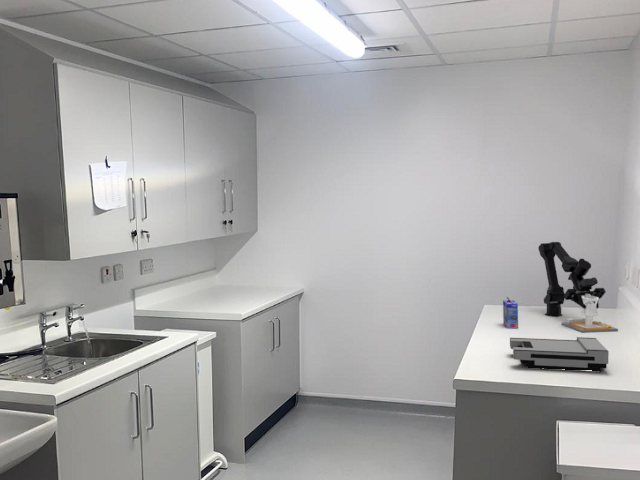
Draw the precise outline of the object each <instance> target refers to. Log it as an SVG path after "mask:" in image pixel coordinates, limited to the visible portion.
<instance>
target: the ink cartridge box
mask: <svg viewBox="0 0 640 480" xmlns="http://www.w3.org/2000/svg"><path fill="white" fill-rule="evenodd" d="M502 311H503V313H502V317H503V321H502V322H503V325H504V326H505V328H507V329H519V304H518V302H516V301H515V300H513V299H510V298H509V297H507V296H506V299H504V300H502Z"/></svg>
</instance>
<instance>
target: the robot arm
mask: <svg viewBox="0 0 640 480" xmlns="http://www.w3.org/2000/svg"><path fill="white" fill-rule="evenodd" d="M539 244H540V245H538V252H539V255H540V257H541V258H542V260H544V266H545V270H546V276H547V282H548V288H547V290H546V295H545V296H544V298H543V303H544V304H546V313H545V314H544V315H545V316H550V317H551V316H552V317H560V316H563V314H562V306H561V305H564V303H565V300H566V301H571V302H574V303H575V304H577V305H578V306H579V307H581V309H582V308H584V309H585V308H586V306H585V304H584V303H583V299H582V296H585V294H590V295H591V296H595V297H598V298H599V299H598V300H600V299H602V298H603V296H604V295H605V293H607V291H606V289H605V288H604V287H594V286H596V285H597V284H598V279H597V277H590V278H584V277H585V276H586V275H588V272H589V271H590V270H591V268H592V265H591V263H590V262H589V261H587V260H585V258H579V260H577V259H576V258H574V257H572V256H570V254H569V253H568V252H567V251H566V249H565V248H564V247H563V246H562V244H561V242H560V241H551V242H545V243H542V242H541V243H539ZM556 256H557V258H558V259H559V261H560V262H561V268H562V270H563V271H564V272H565V273H569V276H568V279H567V281H571V282H572V285H573V286H572V288H567V290H566V291H565V290H564V287H563V286H560V284H559V279H558V273H557V269H556V263H555V257H556ZM593 287H594V289H593V290H592V288H593ZM590 299H592V298H590ZM592 302H594V303H595V301H591V303H592ZM596 308H597V309H599V308H600V307H599V301H598V302H597V305H596Z"/></svg>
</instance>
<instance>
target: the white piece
mask: <svg viewBox="0 0 640 480" xmlns="http://www.w3.org/2000/svg"><path fill="white" fill-rule="evenodd" d="M581 297H582V300H583V303H584V304H585V306H586V308H585V309H584V308H582V307H581V313H580V314H581V315H582V316H585V318H586V320H585V326H592V321H593V318H594V317H597V316H598V315H599V314H598V308H596V305H597V302H598V303H599V300H600V299H599V298H598V297H595V296H591V295H590V294H585V296H581ZM591 298H592V299H591ZM592 301H595V303H594V302H592Z"/></svg>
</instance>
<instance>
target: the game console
mask: <svg viewBox="0 0 640 480" xmlns="http://www.w3.org/2000/svg"><path fill="white" fill-rule="evenodd" d="M509 346H510V350H512V357H513V360H515V361H517V360H518V361H519V362H520V364H521V365H526V366H528V367H527V369H529V368H540V369H539V370H548V369H565V370H564V371H567V370H592V371H602V369H607V365H609V350H608V349H607V348H606V347H605V346H604V345H603V344H602V343H601V342H600V341H599V339H597V338H596V337H582V336H581V337H580V336H579V337H578V336H577V337H576V339H574V340H573V339H557V338H556V339H550V338H530V337H529V338H528V337H527V338H526V337H509ZM542 368H544V369H542Z"/></svg>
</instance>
